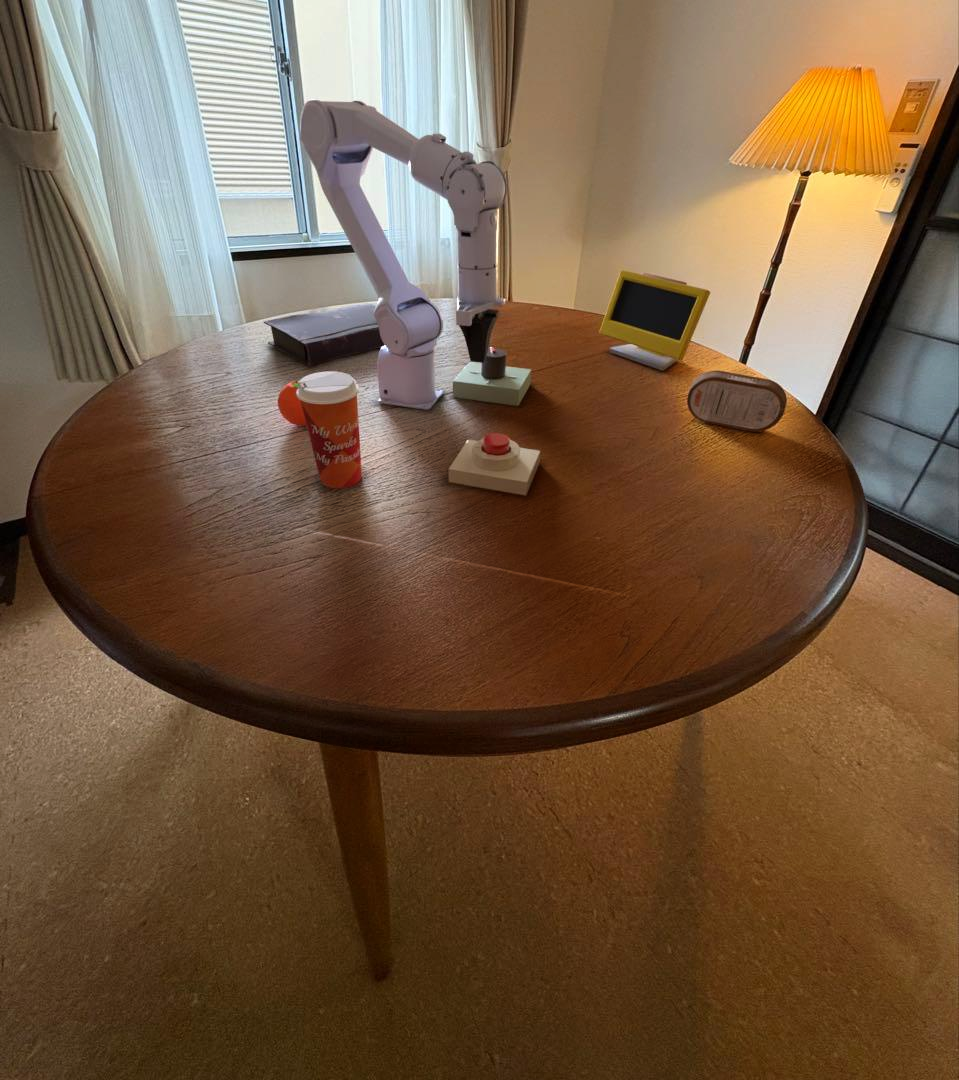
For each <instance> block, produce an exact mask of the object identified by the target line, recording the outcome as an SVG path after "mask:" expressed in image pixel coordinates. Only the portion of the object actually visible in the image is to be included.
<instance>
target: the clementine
mask: <svg viewBox="0 0 959 1080" xmlns="http://www.w3.org/2000/svg"><path fill="white" fill-rule="evenodd" d="M299 381H300V380H293V381H290V382H288V383H287V384H286V385H284V386H283V387H282V388H281V390H280V391H279V392H278V398H277V407H278V410H279V413H280V414H281V415H282V417H283V418H284V419H285V420H286V421H287V422H288V423H290V424H292V425H295V426H298V427H305V426H306V427H307V425H306V421H305V417H304V413H303V409H302V405H301V401H300V399H299V398H298V397H297V395H296V392H297V389H298V383H299Z"/></svg>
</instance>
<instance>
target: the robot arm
mask: <svg viewBox="0 0 959 1080" xmlns="http://www.w3.org/2000/svg"><path fill="white" fill-rule="evenodd" d="M299 140H300V143H301V144H302V146H303V148H304V150H305V152H306V154H307V156H308V158H309V160H310V162H311V163H312V165H313V167H314V169H315V171H316V174H317V178H318V181H319V184H320V187H321V190H322V192H323V194H324V196H325V198H326V200H327V202H328V203H329V206H330V207H331V209H332V211H333V213H334V215H335V217H336V219H337V221H338V224H339V225H340V226H341V228H342V230H343V232H344V234H345V236H346V238H347V240H348V241H349V243H350V245H351V247H352V249H353V252H354V254H355V255H356V257H357V260H358V262H359V263H360V265H361V266H362V268H363V270H364V272H365V274H366V276H367V278H368V280H369V282H370V283H371V285H372V288H373V290H374V291H375V293H376V295H377V297H378V301H377V303H376V308H375V311H374V317H375V319H376V321H377V323H378V326H379V331H380V336H381V339H382V341H383V343H384V344H385V346H382V347H380V350H379V351H378V355H377V360H376V370H377V372H376V373H377V381H378V391H379V392H378V393H379V399H378V400H377V402H378V403H379V404H383V405H390V406H397V407H403V408H412V409H418V410H423V411H429V410H430V409H431V408H432V407H433V405H435V404H436V402H437V401H438V400H439V399H440V398H441V397H442V396H443V395H444V390H443V389H437V388H436V358H435V357H436V356H435V355H436V354H435V353H436V352H435V347H436V346H437V339H438V338H440V336H441V335H442V333H443V330H444V319H443V316H442V314H441V311H440V310H439V308H438V307H437V306H436V305H435V304H434V303H433V302H432V301H431V300H430V299H429V297H428V294H427V293H426V291H425V290H423V289H422V288H420V287H418V286H417V285H415V284H413V283H411V282H410V281H409V279H408V277H407V275H406V274H405V271H404V269H403V268H402V265H401V264H400V262H399V259H398V257H397V255H396V254H395V252H394V250H393V248H392V245H391V244H390V242H389V239H388V237H387V236H386V234H385V231H384V229H383V228H382V226H381V223H380V222H379V220H378V217H377V216H376V214H375V212H374V210H373V208H372V206H371V204H370V202H369V200H368V198H367V196H366V194H365V192H364V190H363V188H362V186H361V179H362V177H363V175H365V172H366V169H367V167H368V164H369V161H370V158H371V155H372V151H373V150H374V149H375V150H377V151H380V152H381V153H383V154H385V155H387V156H389V157H391V158H393V159H394V160H397V161H399V162H401V163H403V164H405V165H406V166H408V167H409V172H410V175H411V177H412V179H413V181H415V182H417V183H418V184H420V185H421V186H423V187H424V188H426V189H428V190H430V191H432V192H434V193H435V194H436V195H438V196H439V197H441V198H443V199H445V200H447V204H448V207H449V209H451V211H452V214H453V225H454V226H455V229H456V255H457V256H456V257H457V259H456V260H457V261H456V262H457V266H456V267H457V297H456V304H457V309H456V310H455V319H456V320H455V323H456V324H455V325H456V326H458V327H459V328H460V330H461V332H462V335H463V337H464V340H465V344H466V349H467V352H468V357H469V360H470V362H476V363H483V362H484V361H485V359H486V356H487V352H488V349H489V348H490V342H491V337H492V333H493V330H494V327H495V325H496V322H497V320H498V318H499V316H500V310H499V309H494V308H496V307H503V306H504V305H506V298H504V297H499V295H498V280H499V279H498V278H499V277H498V273H499V272H498V271H499V270H498V269H499V216H500V215H499V212H500V211H499V209H500V208H502V206H503V205H504V203H505V201H506V198H507V196H508V183H507V182H508V181H507V178H506V175H505V173H504V171H503V169H501V168H500V167H499V166H498V165H497V164H496V163H495V162H494V161H493V160H484V161H481V162H479V163H477V161H476V160H475V159H474V154H473V153H472V152H470V151H467V150H466V151H463V152H462V151H460V150H459V149H457V148H456V147H454V146H452V145H450V144H448V143H447V137H446V136H445V135H444V134H441V133H432V134H426V135H423V136H422V137H420V138H418V137H416V136H415V135H413V134H412V133H411V132H409V131H407V130H405V129H404V128H403V127H401V126H400V125H398V124H397V123H396V122H394V121H392V120H391V119H390V118H388V117H387V116H385V115H384V114H383V113H381V112H379V111H378V110H377V107H375V106H372V105H367V104H366V103H365V102H363V101H362V100H353V101H333V100H332V101H327V100H319V99H309V100H307V101H306V102H305V103H304V104H303V107H302V108H301V112H300V125H299Z"/></svg>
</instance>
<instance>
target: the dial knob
mask: <svg viewBox="0 0 959 1080" xmlns="http://www.w3.org/2000/svg"><path fill="white" fill-rule="evenodd" d="M480 363H481V362H480ZM506 366H507V351H506V350H504V349H502V348H501V349H500V348H494V346H489V348H488V352H487V356H486V359H485V361H484V362H483V363H481V376H482V377H484V378H487V379H501V378H503V377H505V371H506Z"/></svg>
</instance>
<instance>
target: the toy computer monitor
mask: <svg viewBox="0 0 959 1080" xmlns="http://www.w3.org/2000/svg"><path fill="white" fill-rule="evenodd" d="M710 295H711V291H710V290H708V289H705V288H702V287H698V286H694V285H693V286H692V285H689V284H688V283H687V282H685V281H682V280H677V279H674V278H669V277H665V276H661V275H657V274H652V273H648V272H641V273H639V272H635V271H629V270H625V269H620V272H619V274H618V277H617V280H616V283H615V286H614V288H613V291H612V295H611V297H610V299H609V303H608V306H607V309H606V312H605V315H604V317H603V321H602V323H601V326H600V329H599V332H598V334H599V335H603V336H605V337H609V338H612V339H614V340H618V341H620V342H622V343H623V342H624V343H626V344H622V345H617V346H611V347H610V348H609V353H610V354H612V355H616V356H619V357H620V358H621V357H622V358H624V359H627V360H630V361H633V362H635V363H638V364H641V365H644V366H647V367H650V368H653V369H655V370H659V371H661V372H664V371H665V370H666V369H668V368H669V367H671V366H672V365H673V364H675V363H676V362H677V361H681V362H682V361H683V359H685V358H684V357H685V355H686V352H687V350H688V347H689V346H690V344H691V343H690V342H691V341H692V339H693V336H694V333H695V331H696V329H697V326H698V325H699V322H700V319H701V316H702V314H703V312H704V309H705V306H706V304H707V302H708V299H709V297H710Z"/></svg>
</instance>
